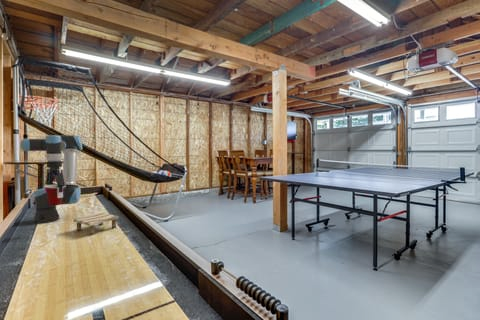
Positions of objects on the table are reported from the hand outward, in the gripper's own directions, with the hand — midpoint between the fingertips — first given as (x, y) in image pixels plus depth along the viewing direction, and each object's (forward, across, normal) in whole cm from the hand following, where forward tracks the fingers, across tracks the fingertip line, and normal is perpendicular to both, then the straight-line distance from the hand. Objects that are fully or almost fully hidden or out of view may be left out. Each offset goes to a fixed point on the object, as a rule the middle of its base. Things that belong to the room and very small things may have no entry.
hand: (55, 196), depth 153 cm
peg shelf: (+22, +17, +15) cm, 31 cm away
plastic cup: (+5, 0, 0) cm, 5 cm away
